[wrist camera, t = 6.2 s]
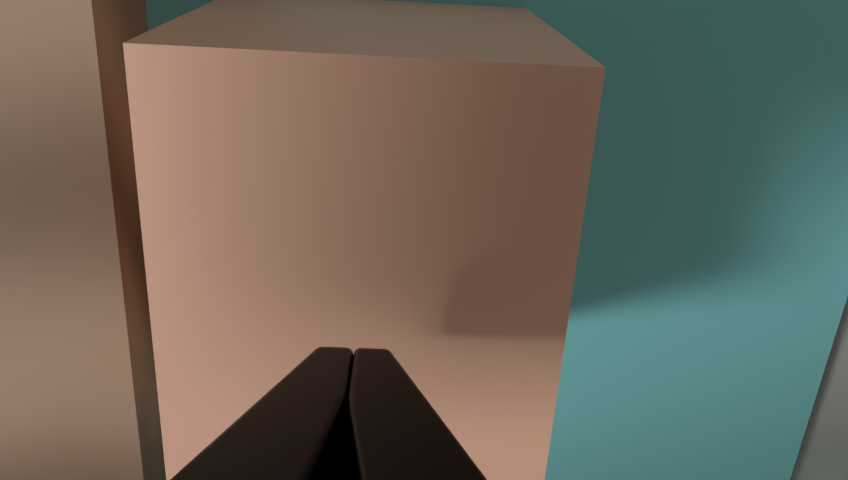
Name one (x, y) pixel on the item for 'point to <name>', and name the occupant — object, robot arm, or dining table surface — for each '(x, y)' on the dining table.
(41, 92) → the walnut deck
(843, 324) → the dining table surface
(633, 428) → the teal mat
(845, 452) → the dining table surface
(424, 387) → the terracotta block
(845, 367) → the dining table surface
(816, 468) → the dining table surface
